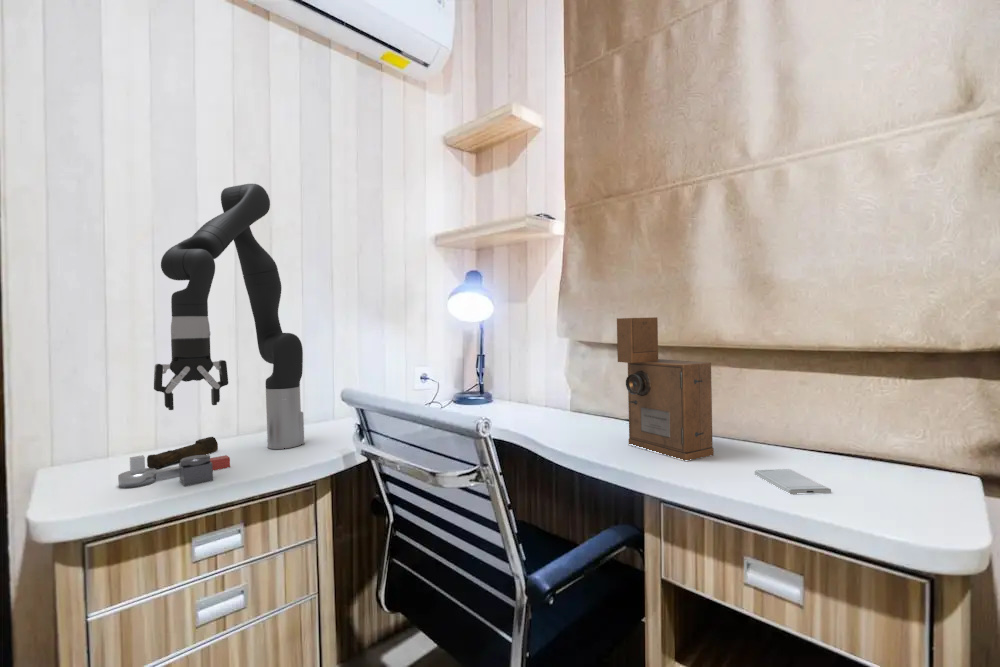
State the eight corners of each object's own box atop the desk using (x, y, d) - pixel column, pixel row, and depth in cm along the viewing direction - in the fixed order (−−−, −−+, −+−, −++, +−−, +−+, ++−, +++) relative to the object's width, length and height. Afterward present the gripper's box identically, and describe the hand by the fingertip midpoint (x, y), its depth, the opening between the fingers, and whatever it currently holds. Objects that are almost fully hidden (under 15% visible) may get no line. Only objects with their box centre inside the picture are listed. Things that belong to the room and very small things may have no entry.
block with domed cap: (207, 475, 116) (207, 453, 116) (213, 480, 112) (212, 457, 111) (179, 480, 112) (178, 458, 112) (183, 486, 108) (182, 463, 108)
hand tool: (156, 471, 121) (156, 452, 121) (145, 469, 123) (145, 451, 122) (224, 452, 139) (224, 435, 139) (214, 451, 140) (214, 435, 140)
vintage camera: (617, 447, 132) (615, 318, 131) (655, 440, 139) (652, 317, 138) (674, 464, 115) (671, 316, 115) (713, 455, 122) (711, 315, 121)
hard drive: (754, 469, 106) (789, 488, 94) (791, 468, 106) (831, 487, 94) (754, 477, 106) (789, 497, 94) (791, 476, 106) (831, 495, 94)
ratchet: (224, 463, 126) (224, 440, 126) (232, 468, 121) (231, 444, 121) (117, 483, 111) (116, 457, 111) (120, 490, 106) (119, 463, 106)
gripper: (221, 335, 119) (223, 401, 119) (150, 337, 109) (152, 409, 109) (229, 335, 113) (231, 405, 113) (155, 337, 104) (157, 413, 104)
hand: (193, 407), depth 111 cm, fingers open, 8 cm apart
